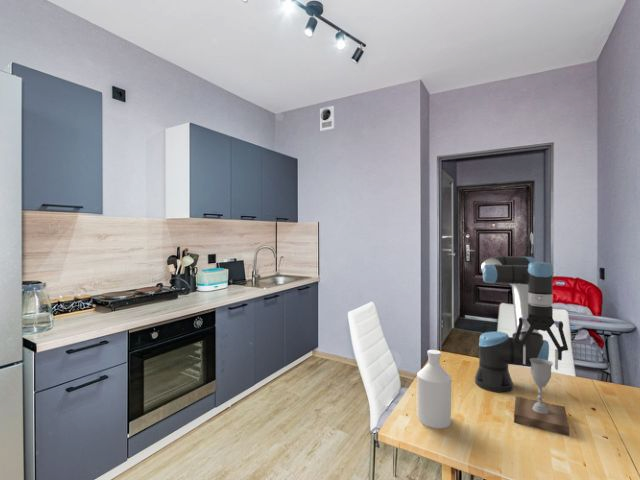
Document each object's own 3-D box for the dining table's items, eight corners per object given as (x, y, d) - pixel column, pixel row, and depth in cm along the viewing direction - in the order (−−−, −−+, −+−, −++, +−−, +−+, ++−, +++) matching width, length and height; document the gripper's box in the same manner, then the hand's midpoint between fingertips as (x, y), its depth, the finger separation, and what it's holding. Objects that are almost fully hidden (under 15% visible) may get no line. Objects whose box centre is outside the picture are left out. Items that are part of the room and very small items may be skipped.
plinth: (514, 422, 121) (514, 414, 121) (515, 403, 135) (515, 396, 135) (569, 436, 113) (569, 427, 113) (564, 414, 126) (564, 406, 126)
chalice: (548, 407, 126) (549, 359, 126) (554, 416, 119) (555, 366, 119) (526, 404, 128) (527, 357, 128) (531, 412, 122) (532, 363, 122)
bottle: (432, 431, 116) (431, 359, 115) (410, 415, 127) (410, 348, 126) (458, 424, 120) (458, 354, 120) (435, 408, 131) (435, 344, 131)
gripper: (505, 303, 126) (505, 363, 126) (578, 309, 114) (578, 375, 115) (506, 300, 132) (506, 357, 133) (576, 305, 121) (576, 368, 121)
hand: (540, 365), depth 124 cm, fingers open, 9 cm apart
